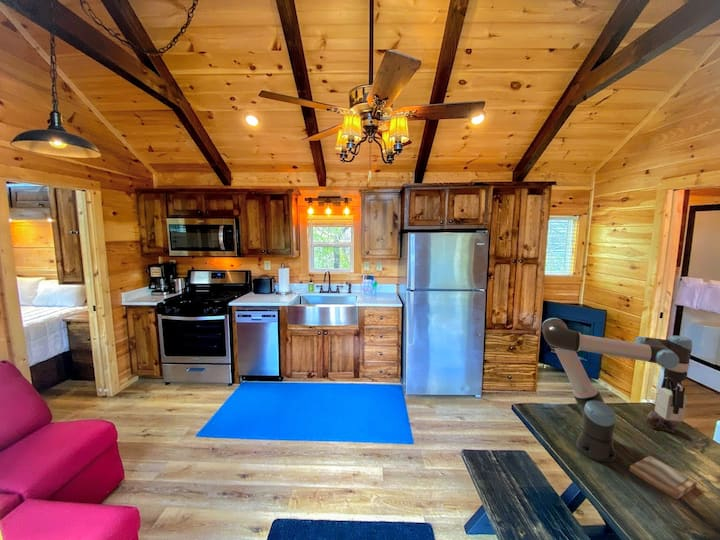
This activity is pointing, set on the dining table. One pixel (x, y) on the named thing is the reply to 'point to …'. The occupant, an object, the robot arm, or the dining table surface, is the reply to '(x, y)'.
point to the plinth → (663, 477)
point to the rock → (660, 422)
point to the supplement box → (667, 404)
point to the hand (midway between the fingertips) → (668, 413)
